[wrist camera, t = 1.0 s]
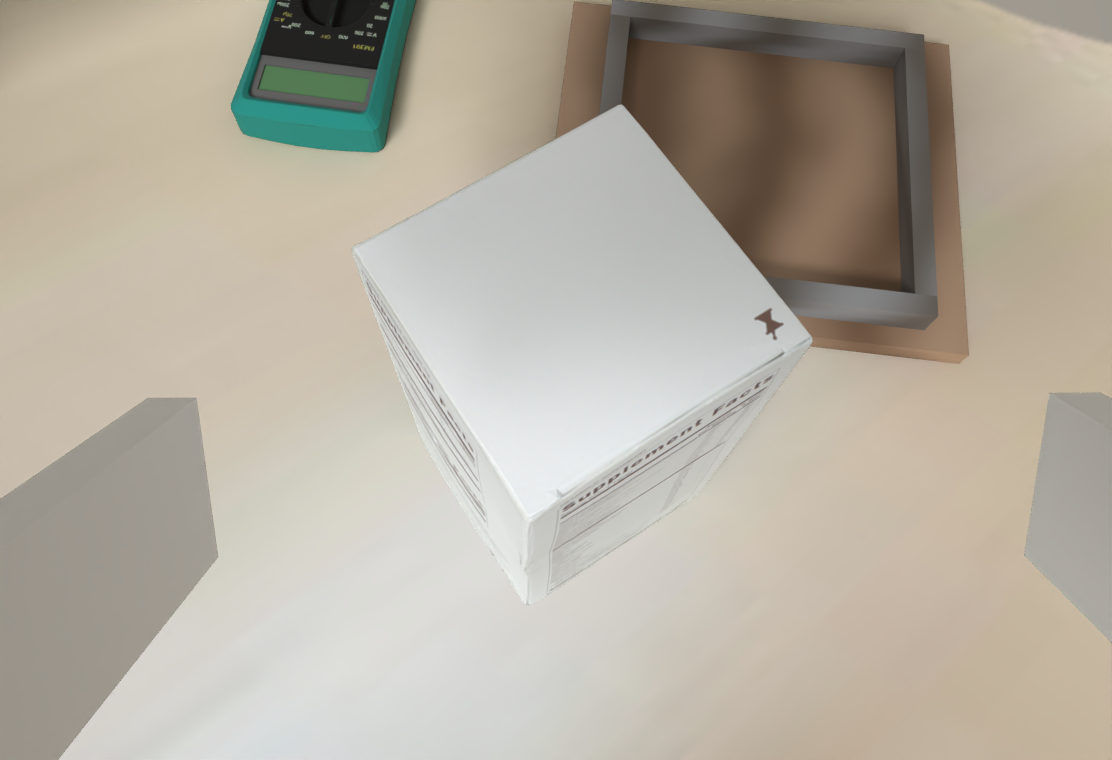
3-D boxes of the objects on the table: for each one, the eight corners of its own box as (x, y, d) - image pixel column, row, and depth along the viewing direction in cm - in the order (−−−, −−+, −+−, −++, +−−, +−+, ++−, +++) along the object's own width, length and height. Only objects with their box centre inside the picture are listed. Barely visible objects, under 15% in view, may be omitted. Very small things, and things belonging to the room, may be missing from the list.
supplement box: (589, 328, 42) (631, 87, 26) (707, 491, 39) (833, 331, 23) (410, 434, 40) (338, 240, 24) (523, 614, 37) (525, 528, 21)
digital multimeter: (435, -56, 51) (430, -101, 48) (384, 163, 45) (375, 126, 42) (307, -72, 51) (295, -118, 48) (240, 145, 45) (222, 107, 43)
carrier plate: (533, 313, 42) (533, 289, 40) (572, 15, 49) (575, -21, 46) (958, 363, 42) (984, 341, 39) (940, 57, 48) (961, 23, 46)
